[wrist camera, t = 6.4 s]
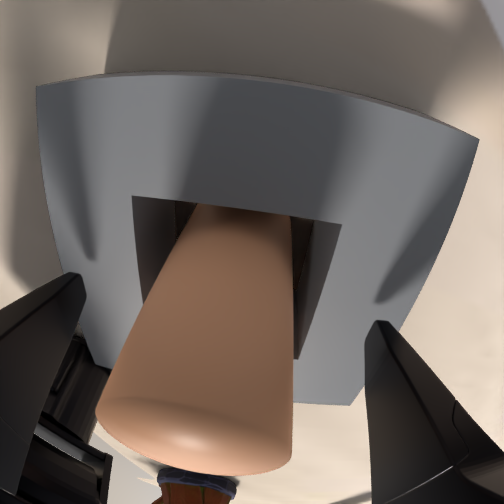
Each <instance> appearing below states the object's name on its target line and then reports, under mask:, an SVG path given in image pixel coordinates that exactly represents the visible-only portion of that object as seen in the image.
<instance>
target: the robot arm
mask: <svg viewBox="0 0 504 504" xmlns="http://www.w3.org/2000/svg"><path fill="white" fill-rule="evenodd" d="M86 298H87V293H86V289H85V285H84V281H83V278H82V275H81V274H79V273H75V272H68V273H66V274H64V275H62V276H60V277H58V278H56V279H54V280H52V281H51V282H49V283H47V284H45V285H43V286H41V287H40V288H38V289H36V290H34V291H32V292H31V293H29V294H27V295H25V296H23V297H22V298H20V299H18V300H16V301H15V302H13V303H11V304H9V305H8V306H6V307H4V308H2V309H1V310H0V504H107V498H108V490H109V481H110V474H111V467H112V460H113V457H112V456H111V455H109V454H108V453H103V452H101V451H99V450H97V449H96V448H94V447H92V446H90V445H88V444H89V441H90V439H91V436H92V433H93V431H94V428H95V426H96V423H97V421H98V420H97V417H96V414H95V410H96V407H97V404H98V402H99V400H100V397H101V395H102V393H103V390H104V388H105V386H106V383H107V381H108V379H109V376H110V374H111V372H112V370H113V369H110V368H106V367H103V366H100V365H96V364H95V362H94V360H93V357H92V355H91V352H90V350H89V347H88V345H87V342H86V340H84V339H81V338H78V337H75V336H73V335H74V332H75V329H76V326H77V324H78V321H79V318H80V315H81V313H82V310H83V307H84V305H85V302H86ZM364 364H365V398H366V408H367V419H368V431H369V445H370V462H371V488H372V504H504V452H503V451H502V450H501V449H500V448H499V447H498V445H497V444H496V443H495V442H494V441H493V440H492V439H491V438H490V437H489V436H488V435H487V434H486V433H485V432H484V431H483V430H482V428H481V427H480V426H479V425H478V424H477V423H476V422H475V421H474V420H473V419H472V417H471V416H470V415H469V414H468V413H467V412H466V410H465V409H464V408H463V407H462V406H461V404H460V403H459V402H458V401H457V400H455V397H454V396H453V395H452V393H451V392H450V391H449V390H448V389H447V387H446V386H445V385H444V384H443V383H442V381H441V380H440V379H439V378H438V377H437V376H436V374H435V373H434V372H433V371H432V370H431V368H430V367H429V366H428V365H427V364H426V363H425V362H424V360H423V359H422V358H421V357H420V356H419V355H418V353H417V352H416V351H415V350H414V349H413V348H412V347H411V345H410V344H409V343H408V342H407V341H406V340H405V339H404V338H403V336H402V335H401V334H400V333H399V332H398V331H397V330H396V329H395V328H394V326H393V325H392V324H391V323H390V322H389V321H386V320H375V321H374V323H373V324H372V326H371V328H370V330H369V332H368V334H367V336H366V338H365V342H364ZM34 433H35V434H34ZM36 434H37V435H38V436H37V435H36ZM39 436H40V437H41V438H40V437H39ZM42 438H43V439H42ZM45 440H46V441H45ZM47 441H48V442H49V443H48V442H47ZM50 443H51V444H50ZM53 445H54V446H53ZM55 446H56V447H57V448H56V447H55ZM58 448H59V449H58ZM60 449H61V450H62V451H61V450H60ZM63 451H64V452H63ZM65 452H66V453H65ZM67 453H68V454H69V455H68V454H67ZM70 455H71V456H70ZM72 456H73V457H72ZM74 457H75V458H74ZM76 458H77V459H78V460H77V459H76ZM79 460H80V461H79Z"/></svg>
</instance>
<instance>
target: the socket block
mask: <svg viewBox="0 0 504 504" xmlns="http://www.w3.org/2000/svg"><path fill="white" fill-rule="evenodd" d="M36 107H37V126H38V139H39V150H40V159H41V167H42V174H43V181H44V188H45V194H46V200H47V205H48V211H49V216H50V221H51V225H52V230H53V235H54V239H55V243H56V247H57V251H58V255H59V259H60V263H61V267H62V270H63V274H66V273H68V272H75V273H79V274H81V275H82V278H83V281H84V285H85V289H86V293H87V298H86V302H85V305H84V307H83V310H82V313H81V315H80V318H79V324H80V326H81V329H82V332H83V334H84V337H85V340H86V342H87V345H88V347H89V350H90V352H91V355H92V357H93V360H94V362H95V364H96V365H100V366H103V367H106V368H110V369H113V368H114V365H115V363H116V361H117V359H118V356H119V354H120V352H121V350H122V348H123V346H124V344H125V341H126V339H127V337H128V335H129V333H130V331H131V329H132V327H133V325H134V323H135V321H136V318H137V316H138V314H139V312H140V310H141V308H142V306H143V304H144V302H145V300H146V298H147V296H148V294H149V292H150V290H151V288H152V287H153V285H154V283H155V281H156V279H157V277H158V275H159V273H160V271H161V269H162V267H163V265H164V264H165V262H166V260H167V258H168V256H169V254H170V252H171V250H172V249H173V247H174V245H175V243H176V240H175V200H177V201H186V202H194V203H202V204H210V205H217V206H225V207H232V208H240V209H247V210H254V211H261V212H268V213H274V214H281V215H288V216H294V217H300V218H307V219H313V220H314V223H313V228H312V232H311V236H310V240H309V244H308V248H307V252H306V256H305V260H304V264H303V268H302V272H301V276H300V280H299V284H298V288H297V290H293V402H294V403H307V404H323V405H348V406H350V405H351V403H352V402H353V401H354V399H355V398H356V397H357V395H358V394H359V392H360V391H361V389H362V388H363V387H364V385H365V364H364V342H365V338H366V336H367V334H368V332H369V330H370V328H371V326H372V324H373V323H374V321H375V320H386V321H389V322H390V323H391V324H392V325H393V326H394V328H395V329H396V330H397V331H398V332H399V330H400V328H401V326H402V325H403V323H404V321H405V319H406V317H407V316H408V314H409V312H410V310H411V308H412V307H413V305H414V303H415V301H416V299H417V297H418V295H419V293H420V291H421V289H422V287H423V285H424V283H425V281H426V279H427V277H428V275H429V273H430V271H431V269H432V267H433V265H434V263H435V260H436V258H437V256H438V254H439V252H440V249H441V247H442V245H443V242H444V240H445V238H446V235H447V233H448V231H449V228H450V226H451V223H452V221H453V218H454V216H455V213H456V210H457V208H458V205H459V202H460V200H461V197H462V194H463V191H464V188H465V186H466V183H467V180H468V177H469V173H470V170H471V167H472V164H473V161H474V157H475V154H476V150H477V147H478V143H479V140H480V139H478V138H476V137H474V136H472V135H470V134H468V133H466V132H464V131H462V130H459V129H457V128H455V127H453V126H451V125H449V124H446V123H444V122H442V121H440V120H437V119H435V118H433V117H430V116H428V115H426V114H423V113H420V112H417V111H414V110H411V109H408V108H405V107H402V106H399V105H395V104H392V103H388V102H385V101H381V100H378V99H374V98H370V97H367V96H363V95H359V94H355V93H350V92H346V91H342V90H337V89H332V88H328V87H323V86H318V85H312V84H307V83H301V82H295V81H288V80H282V79H275V78H267V77H259V76H250V75H239V74H228V73H213V72H189V71H146V72H123V73H109V74H99V75H93V76H86V77H80V78H74V79H69V80H64V81H59V82H54V83H49V84H45V85H40V86H36Z"/></svg>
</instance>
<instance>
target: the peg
mask: <svg viewBox="0 0 504 504" xmlns="http://www.w3.org/2000/svg"><path fill="white" fill-rule="evenodd" d="M95 414H96V417H97V420H98V421H99V423H100V424H101V426H102V427H103V428H104V429H105V430H106V431H107V432H108V433H109V434H110V435H111V436H112V437H113V438H115V439H116V440H118V441H119V442H120V443H122V444H123V445H125V446H127V447H128V448H130V449H132V450H134V451H135V452H137V453H139V454H141V455H143V456H146V457H148V458H150V459H153V460H155V461H158V462H161V463H163V464H166V465H170V466H173V467H176V468H180V469H184V470H188V471H193V472H199V473H205V474H213V475H226V476H242V475H254V474H261V473H265V472H269V471H272V470H275V469H278V468H280V467H282V466H283V465H285V464H286V463H287V462H288V461H289V460H290V458H291V455H292V427H293V269H292V235H291V219H290V216H288V215H281V214H274V213H268V212H261V211H254V210H247V209H240V208H232V207H225V206H217V205H210V204H202V203H198V204H197V206H196V207H195V209H194V211H193V213H192V214H191V216H190V218H189V220H188V222H187V223H186V225H185V227H184V229H183V230H182V232H181V234H180V236H179V238H178V239H177V241H176V243H175V245H174V247H173V249H172V250H171V252H170V254H169V256H168V258H167V260H166V262H165V264H164V265H163V267H162V269H161V271H160V273H159V275H158V277H157V279H156V281H155V283H154V285H153V287H152V288H151V290H150V292H149V294H148V296H147V298H146V300H145V302H144V304H143V306H142V308H141V310H140V312H139V314H138V316H137V318H136V321H135V323H134V325H133V327H132V329H131V331H130V333H129V335H128V337H127V339H126V341H125V344H124V346H123V348H122V350H121V352H120V354H119V356H118V359H117V361H116V363H115V365H114V368H113V370H112V372H111V374H110V376H109V379H108V381H107V383H106V386H105V388H104V390H103V393H102V395H101V397H100V400H99V402H98V404H97V407H96V410H95Z"/></svg>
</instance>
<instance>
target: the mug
mask: <svg viewBox="0 0 504 504" xmlns="http://www.w3.org/2000/svg"><path fill="white" fill-rule="evenodd" d="M157 482H158V483H159V486H160V487H161V491H162V496H161V497H160V498H158V499H157V500H155V501H154V502H153V503H152V504H229V502H230V500H232V499H234V497H235V495H236V490H237V489H236V485H235V484H234V483H233V482H231V481H230V480H228V479H226V478H223V477H219V476H215V475H212V474H205V473H199V472H193V471H188V470H184V469H176V468H168V469H162V470H160V471H159V474H158V476H157Z"/></svg>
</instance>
